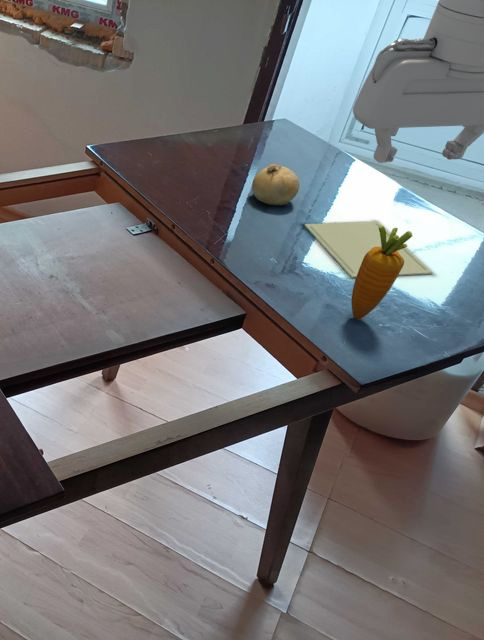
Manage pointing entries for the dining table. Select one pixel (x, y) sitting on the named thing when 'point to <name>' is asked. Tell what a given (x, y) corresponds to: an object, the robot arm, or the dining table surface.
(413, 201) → the dining table surface
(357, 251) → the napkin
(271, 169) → the onion
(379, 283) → the carrot
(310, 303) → the dining table surface
